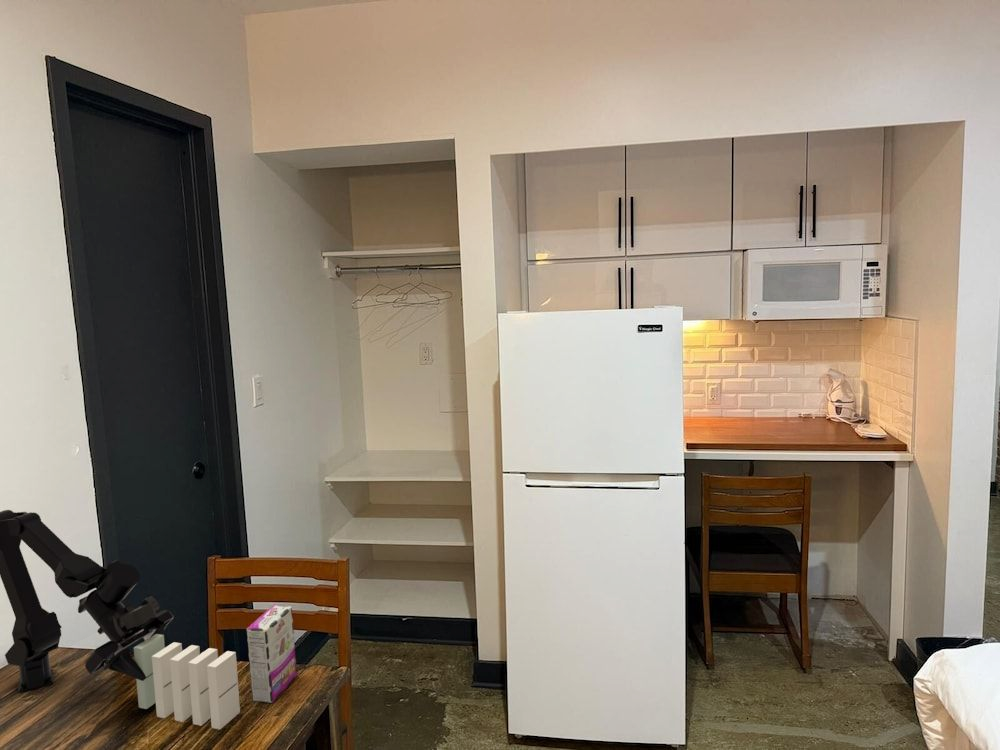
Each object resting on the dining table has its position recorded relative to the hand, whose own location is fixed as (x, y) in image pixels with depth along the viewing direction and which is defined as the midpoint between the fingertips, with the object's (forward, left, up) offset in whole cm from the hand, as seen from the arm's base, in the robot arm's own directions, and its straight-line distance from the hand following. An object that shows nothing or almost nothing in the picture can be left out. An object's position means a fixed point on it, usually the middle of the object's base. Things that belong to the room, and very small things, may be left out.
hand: (156, 671), depth 146 cm
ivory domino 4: (+13, +11, -8) cm, 18 cm away
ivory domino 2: (+6, +5, -8) cm, 11 cm away
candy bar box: (+7, +22, -8) cm, 24 cm away
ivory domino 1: (+2, +2, -8) cm, 8 cm away
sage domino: (-1, -1, -7) cm, 7 cm away
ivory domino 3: (+9, +8, -8) cm, 14 cm away
